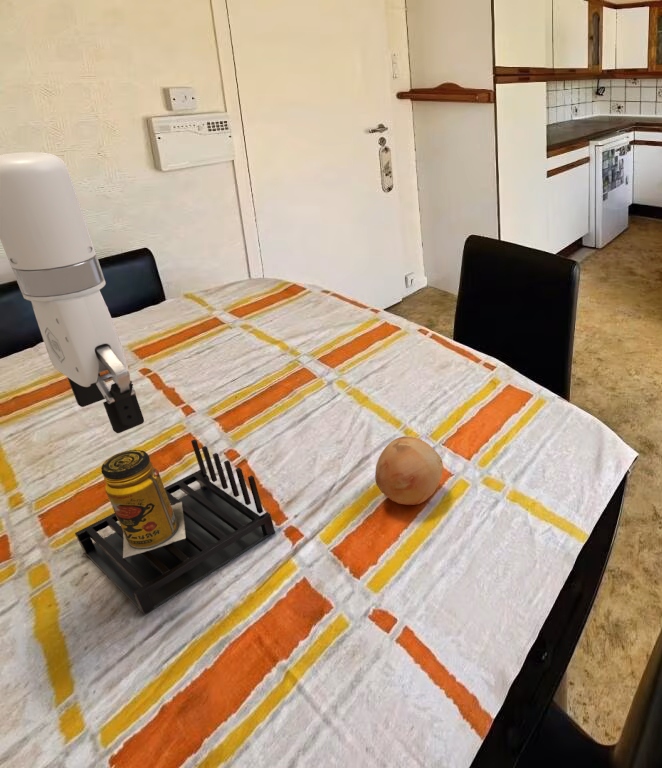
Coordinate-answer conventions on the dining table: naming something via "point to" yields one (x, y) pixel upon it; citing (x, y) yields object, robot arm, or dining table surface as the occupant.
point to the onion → (408, 471)
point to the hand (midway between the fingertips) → (111, 414)
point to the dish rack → (190, 555)
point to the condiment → (141, 503)
